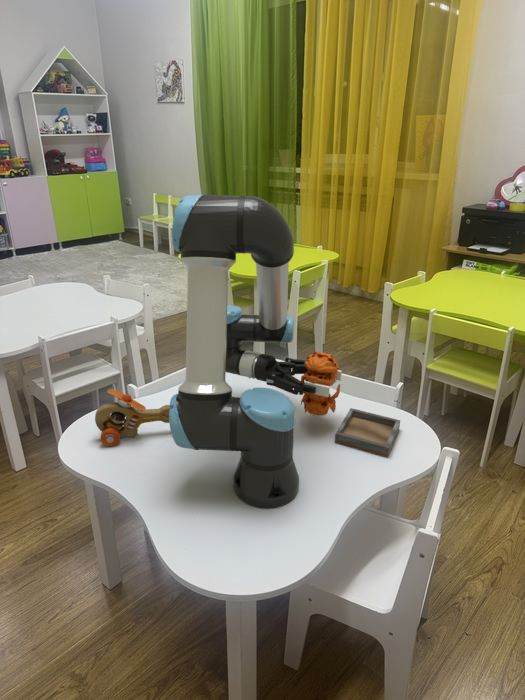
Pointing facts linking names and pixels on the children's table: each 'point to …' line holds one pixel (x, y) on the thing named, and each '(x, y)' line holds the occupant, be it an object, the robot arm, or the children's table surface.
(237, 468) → the robot arm
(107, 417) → the toy helicopter
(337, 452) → the children's table surface
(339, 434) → the tray
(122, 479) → the children's table surface
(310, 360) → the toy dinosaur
